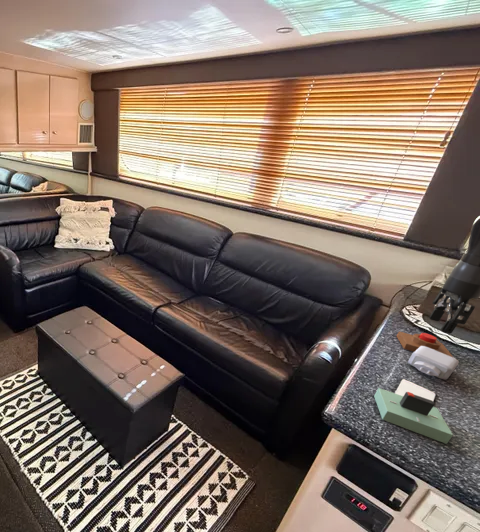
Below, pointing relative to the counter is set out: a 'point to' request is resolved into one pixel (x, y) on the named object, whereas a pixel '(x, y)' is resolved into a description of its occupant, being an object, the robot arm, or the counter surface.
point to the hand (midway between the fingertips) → (439, 325)
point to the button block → (420, 343)
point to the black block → (416, 403)
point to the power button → (428, 337)
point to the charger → (433, 362)
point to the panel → (412, 417)
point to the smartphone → (414, 390)
